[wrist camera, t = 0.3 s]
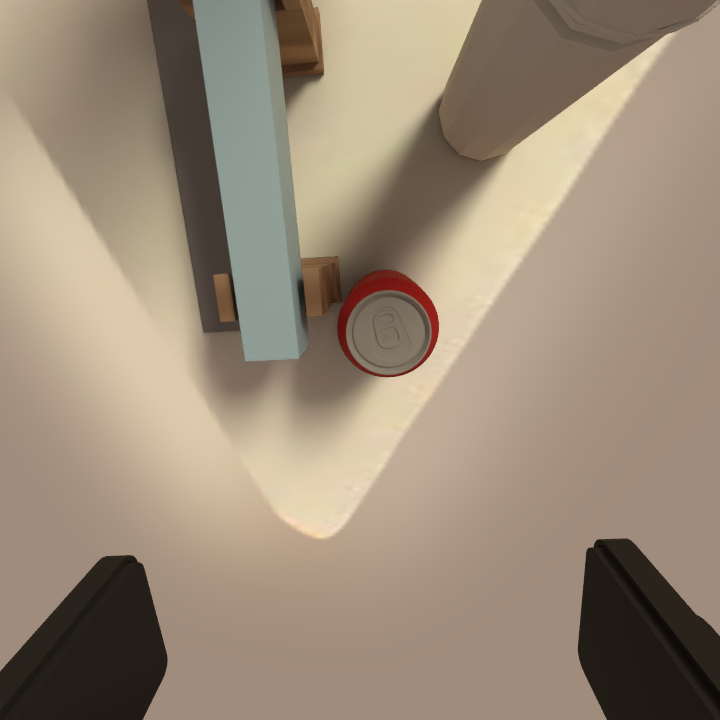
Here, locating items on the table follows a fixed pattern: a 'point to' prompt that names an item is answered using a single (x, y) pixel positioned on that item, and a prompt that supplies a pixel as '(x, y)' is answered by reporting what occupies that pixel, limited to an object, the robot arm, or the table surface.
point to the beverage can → (387, 324)
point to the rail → (254, 172)
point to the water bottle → (544, 62)
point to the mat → (193, 152)
